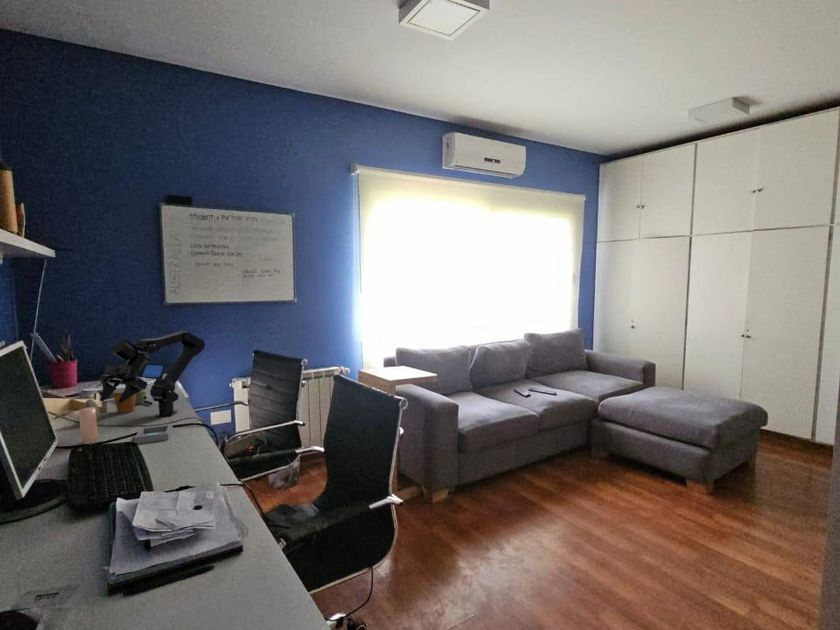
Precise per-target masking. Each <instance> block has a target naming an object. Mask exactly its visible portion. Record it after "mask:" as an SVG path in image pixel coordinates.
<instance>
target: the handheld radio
mask: <svg viewBox="0 0 840 630" xmlns="http://www.w3.org/2000/svg"><path fill="white" fill-rule="evenodd" d="M136 402H138V403H137V404H140V403H142V404H141V405H150V406H152V405H153V404H154V403H153V402H152V401H148V392H147V390H146V389H145V390H142V391H139V392H138V393H136V400H135V403H136ZM144 403H146V404H144Z"/></svg>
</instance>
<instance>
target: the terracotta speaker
mask: <svg viewBox="0 0 840 630" xmlns="http://www.w3.org/2000/svg"><path fill="white" fill-rule="evenodd" d="M82 408H83V407H82ZM82 408H81V409H79V410H78V415H79V426H80V427H79V430H80V440H81V441H80V442H81V445H82V444H88V443H92V442H96V441H98V442H99V436H98V435H99V434H98V420H97V419H96V408H95V407H88V408H83V409H82ZM96 443H97V442H96Z"/></svg>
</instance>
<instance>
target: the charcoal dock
mask: <svg viewBox="0 0 840 630" xmlns="http://www.w3.org/2000/svg"><path fill="white" fill-rule="evenodd" d="M173 431H174V429H173V423H172V424H170V423H169V424H162V425H154V426H153V425H152V426H147V427H141V428H140V429H139V430H138V431H137V433H136V435H135V436H134V444H135V443H138V444H143V443H144V444H146V443H152V442H153V441H154V442H161V441H168V440H170V437H171V436H172V435H171V434H172V433H173ZM154 442H153V443H154Z"/></svg>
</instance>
